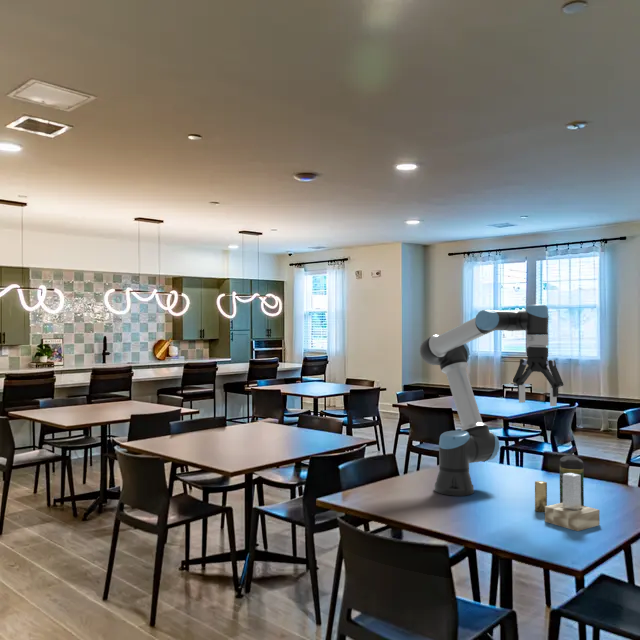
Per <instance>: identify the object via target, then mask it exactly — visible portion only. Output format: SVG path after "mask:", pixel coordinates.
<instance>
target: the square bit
mask: <svg viewBox="0 0 640 640" xmlns="http://www.w3.org/2000/svg"><path fill="white" fill-rule="evenodd" d="M563 508H564V509H568V510H571V511H578V510H581V475H578V474H574V473H566V474H563Z"/></svg>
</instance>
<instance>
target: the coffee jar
mask: <svg viewBox="0 0 640 640" xmlns="http://www.w3.org/2000/svg"><path fill="white" fill-rule="evenodd" d="M584 468H585V467H584V461H583V460H582V459H581V458H579V457H577V456H576V455H564V456H562V457H560V458H559V503H563V474H566V473H574V474H578V475H581V505H583V506H585V501H584V499H585V496H584V489H585V488H584V487H585V483H584V470H585V469H584Z"/></svg>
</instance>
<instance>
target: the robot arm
mask: <svg viewBox="0 0 640 640" xmlns="http://www.w3.org/2000/svg"><path fill="white" fill-rule="evenodd" d="M548 308H549V307H548V306H547V305H545V304H528V305H527V306H526V310H517V311H516V310H498V309H482V310H480V311H479V312H478V313H477V314H475V315H476V316H475V317H473V318H471V319H470V320H467V321H465V322H463V323H462V324H459V325H458V326H455V327H453V328H451V329H449V330H447V331H444V332H443V333H441V334H433V335H431V336H428V337H427V338H426V339H424V340H423V341H422V343H421V345H420V347H419V355H420V357H421V359H422V360H423V362H425V363H427V364H429V365H431V366H439V367H440V371H441V373H443V374H444V375H446V377H447V381H448V385H449V388H450V392H451V395H452V399H453V401H454V405H455V408H456V411H457V415H458V419H459V421H460V424H461V429H460V430H459V429H457V430H449V431H444V432H443V433H441V434H440V436H439V442H438V449H439V450H438V451H439V453H438V455H439V458H438V459H439V460H438V463H439V466H438V468H439V469H438V470H439V471H438V473H437V477H436V482H435V483H434V491H435V493H438V494H442V495H444V496H445V495H448V496H456V497H457V496H458V497H461V496H471V495H473V494H474V490H475V489H474V484H473V483H472V478H471V474H470V464H472V463H479V462H480V463H481V462H483V463H485V462H487V461H491V460H493V459H495V458H496V456H497V455H498V453H499V449H500V440H499V437H498V435H496V433H494V432H492V431H490V428H489V425H488V424H486V423H485V422H483V419H482V415H481V412H480V409H479V406H478V403H477V401H476V397H475V394H474V392H473V388H472V385H471V382H470V378H469V375H468V372H467V367H468V364H469V363H468V362H469V359H470V355H471V352H470V347H469V346H468V343H469V342H471V341H474V340H477V339H478V338H481V337H483V336H485V335H488V334H490V333H492V332H493V331H507V332H514V331H515V332H517V331H518V332H519V331H524V332H525V331H526V345H527V347H526V357H527V359H526V358H521V359H519V365H518V368H517V370H516V373H515V374H514V376H513V380H512V383H514V384H516V385H517V394H518V403H520V404H521V403H526V384H525V382H526V381H527V380H528V379H529V377H530V376H531V374H532V373H533V372H537V373H542V375H543V376H544V377H545V379H546V380H547V381H548V383H549V385H550V388H549V406H550V407H556V406H557V397H559V388H560V387H564V381H563V379H562V378H561V375H560V372H559V370H558V368H557V366H556V360H555V359H549V360H548V357H549V348H548V346H549V309H548ZM548 367H549V368H548Z"/></svg>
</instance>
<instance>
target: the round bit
mask: <svg viewBox="0 0 640 640" xmlns="http://www.w3.org/2000/svg"><path fill="white" fill-rule="evenodd" d="M545 506H548V482H546V481H542V480H537V481H534V511H535V512H537V513H545Z"/></svg>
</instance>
